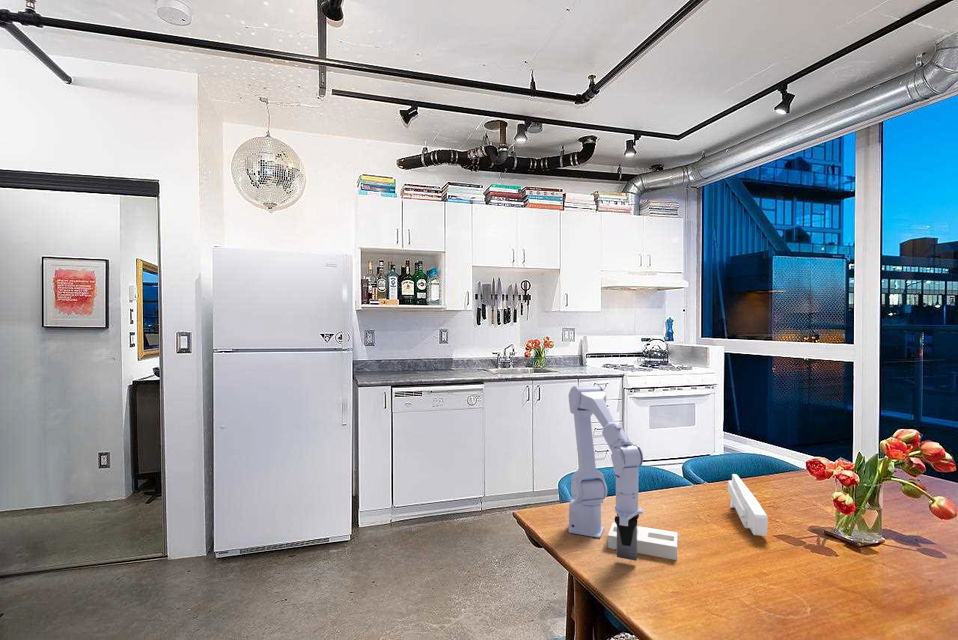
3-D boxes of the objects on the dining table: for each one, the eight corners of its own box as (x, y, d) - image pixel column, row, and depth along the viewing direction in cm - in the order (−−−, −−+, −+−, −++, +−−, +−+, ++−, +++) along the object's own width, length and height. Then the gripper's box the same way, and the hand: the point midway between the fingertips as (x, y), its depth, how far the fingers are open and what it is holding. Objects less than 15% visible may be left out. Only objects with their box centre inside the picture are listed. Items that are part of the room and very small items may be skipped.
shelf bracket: (741, 508, 166) (743, 474, 163) (769, 556, 142) (772, 517, 139) (723, 507, 167) (725, 473, 165) (749, 554, 143) (751, 516, 140)
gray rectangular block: (616, 557, 127) (616, 522, 127) (617, 553, 129) (617, 520, 129) (636, 560, 125) (636, 526, 125) (637, 557, 127) (637, 523, 127)
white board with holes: (607, 547, 135) (607, 535, 135) (613, 533, 145) (612, 522, 145) (676, 560, 128) (676, 546, 128) (677, 544, 137) (677, 532, 137)
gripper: (640, 502, 119) (640, 558, 118) (645, 485, 132) (645, 534, 132) (611, 498, 121) (611, 552, 121) (618, 481, 135) (618, 530, 135)
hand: (626, 543), depth 127 cm, fingers closed on gray rectangular block, 2 cm apart
